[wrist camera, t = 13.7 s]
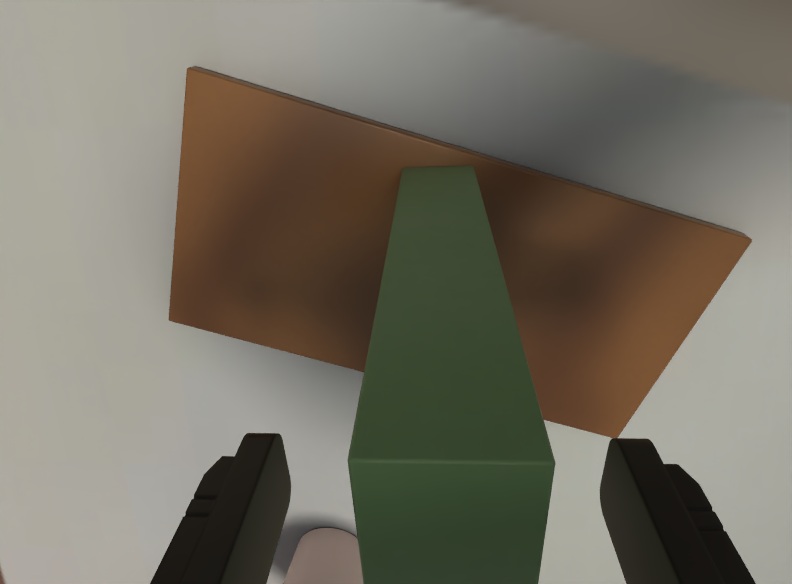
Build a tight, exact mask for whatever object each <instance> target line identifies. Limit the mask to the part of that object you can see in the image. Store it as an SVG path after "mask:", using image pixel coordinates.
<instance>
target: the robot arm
mask: <svg viewBox="0 0 792 584" xmlns="http://www.w3.org/2000/svg"><path fill="white" fill-rule="evenodd" d="M290 495H291V480H290V475H289V470H288V465H287V460H286V455H285V450H284V445H283V440H282V437H281V435H280V434H275V433H247V434H246V435H245V436H244V438H243V440H242V442H241V444H240V446H239V449H238V451H237V453H236V455H235V457H230V456H222V457H221V458H220V459H219V460H218V461H217V462H216V463H215V464H214V465H213V466H212V467H211V468H210V469H209V470H208V471H207V472H206V473H205V474H204V476H203V478H202V480H201V482H200V484H199V486H198V488H197V490H196V492H195V494H194V499H192V500H191V502H190V504H189V506H188V508H187V510H186V515H185V517H183V519H182V521H181V523H180V525H179V527H178V529H177V531H176V533H175V535H174V537H173V539H172V541H171V543H170V545H169V547H168V549H167V551H166V553H165V555H164V557H163V559H162V561H161V563H160V565H159V567H158V569H157V571H156V573H155V575H154V577H153V579H152V581H151V583H150V584H266V583H267V579H268V576H269V572H270V569H271V565H272V562H273V559H274V555H275V552H276V548H277V545H278V541H279V538H280V535H281V531H282V528H283V524H284V521H285V517H286V514H287V510H288V507H289V502H290ZM600 502H601V508H602V513H603V516H604V519H605V522H606V525H607V528H608V531H609V534H610V537H611V540H612V543H613V545H614V548H615V551H616V554H617V557H618V560H619V563H620V566H621V569H622V572H623V575H624V578H625V581H626V583H627V584H756V583H755V582H754V580H753V578H752V576H751V575H750V573H749V571H748V569H747V568H746V566H745V564H744V562H743V561H742V559H741V557H740V555H739V554H738V552H737V550H736V548H735V547H734V545H733V543H732V541H731V539H730V538H729V536H728V534H727V532H726V531H724V530H723V525H722V524H721V522H720V520H719V518H718V517H717V515H716V513H715V512H713V511H712V506H711V504H710V503H709V501H708V499H707V497H706V496H705V494H704V492H703V490H702V489H701V487H700V485H699V484H698V483H697V482H696V481H695V480H694V479H693V478H692V477H691V476H690V475H689V474H688V473H686V472H685V471H684V470H683V469H682V468H681V467H680V466H679V465H678V464H663V462H662V460H661V458H660V456H659V454H658V452H657V450H656V448H655V446H654V445H653V443H652V442H651V441H650V440H649V439H622V438H613V439H611V441H610V443H609V447H608V451H607V456H606V461H605V466H604V470H603V475H602V480H601V485H600Z"/></svg>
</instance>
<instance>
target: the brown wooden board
mask: <svg viewBox="0 0 792 584" xmlns="http://www.w3.org/2000/svg"><path fill="white" fill-rule="evenodd" d="M441 166H473V167H474V170H475V174H476V177H477V181H478V185H479V188H480V192H481V196H482V199H483V203H484V206H485V210H486V214H487V217H488V221H489V225H490V228H491V232H492V235H493V239H494V243H495V246H496V250H497V253H498V257H499V261H500V264H501V268H502V272H503V275H504V279H505V282H506V286H507V290H508V293H509V297H510V301H511V304H512V308H513V311H514V315H515V319H516V322H517V326H518V330H519V333H520V337H521V340H522V344H523V348H524V351H525V355H526V359H527V362H528V366H529V369H530V373H531V377H532V380H533V384H534V388H535V391H536V395H537V398H538V402H539V406H540V409H541V413H542V417H543V420H547V421H551V422H555V423H559V424H562V425H566V426H570V427H574V428H577V429H581V430H585V431H589V432H593V433H596V434H600V435H604V436H608V437H612V438H618V436H619V435H620V433H621V432H622V430H623V429H624V427H625V426H626V424H627V423H628V422H629V420H630V419H631V417H632V416H633V414H634V413H635V411H636V410H637V408H638V407H639V405H640V404H641V402H642V401H643V400H644V398H645V397H646V395H647V394H648V392H649V391H650V389H651V388H652V386H653V385H654V383H655V382H656V381H657V379H658V378H659V376H660V375H661V373H662V372H663V370H664V369H665V367H666V366H667V364H668V363H669V362H670V360H671V359H672V357H673V356H674V354H675V353H676V351H677V350H678V348H679V347H680V345H681V344H682V342H683V341H684V340H685V338H686V337H687V335H688V334H689V332H690V331H691V329H692V328H693V326H694V325H695V323H696V322H697V321H698V319H699V318H700V316H701V315H702V313H703V312H704V310H705V309H706V307H707V306H708V304H709V303H710V302H711V300H712V299H713V297H714V296H715V294H716V293H717V291H718V290H719V288H720V287H721V285H722V284H723V283H724V281H725V280H726V278H727V277H728V275H729V274H730V272H731V271H732V269H733V268H734V266H735V265H736V263H737V262H738V261H739V259H740V258H741V256H742V255H743V253H744V252H745V250H746V249H747V247H748V246H749V244H750V243H751V242H752V239H751V238H749V237H748V236H746V235H745V234H743V233H740V232H737V231H733V230H730V229H727V228H724V227H720V226H717V225H714V224H710V223H707V222H704V221H701V220H697V219H694V218H691V217H687V216H684V215H681V214H678V213H674V212H671V211H668V210H664V209H661V208H658V207H655V206H651V205H648V204H645V203H642V202H638V201H635V200H632V199H628V198H625V197H622V196H619V195H615V194H612V193H609V192H605V191H602V190H599V189H596V188H592V187H589V186H586V185H582V184H579V183H576V182H573V181H569V180H566V179H563V178H560V177H556V176H553V175H550V174H546V173H543V172H540V171H537V170H533V169H530V168H527V167H523V166H520V165H517V164H514V163H510V162H507V161H504V160H500V159H497V158H494V157H491V156H487V155H484V154H481V153H478V152H474V151H471V150H468V149H464V148H461V147H458V146H455V145H451V144H448V143H445V142H441V141H438V140H435V139H432V138H428V137H425V136H422V135H418V134H415V133H412V132H409V131H405V130H402V129H399V128H396V127H392V126H389V125H386V124H382V123H379V122H376V121H373V120H369V119H366V118H363V117H359V116H356V115H353V114H350V113H346V112H343V111H340V110H336V109H333V108H330V107H327V106H323V105H320V104H317V103H314V102H310V101H307V100H304V99H300V98H297V97H294V96H291V95H287V94H284V93H281V92H277V91H274V90H271V89H268V88H264V87H261V86H258V85H254V84H251V83H248V82H245V81H241V80H238V79H235V78H232V77H228V76H225V75H222V74H218V73H215V72H212V71H209V70H205V69H202V68H199V67H190V68H188V69H187V76H186V90H185V104H184V117H183V131H182V145H181V158H180V172H179V186H178V199H177V213H176V227H175V240H174V254H173V268H172V281H171V295H170V309H169V321H173V322H176V323H180V324H184V325H188V326H191V327H195V328H199V329H203V330H207V331H210V332H214V333H218V334H222V335H225V336H229V337H233V338H237V339H241V340H244V341H248V342H252V343H256V344H260V345H263V346H267V347H271V348H275V349H278V350H282V351H286V352H290V353H294V354H297V355H301V356H305V357H309V358H313V359H316V360H320V361H324V362H328V363H331V364H335V365H339V366H343V367H347V368H350V369H354V370H358V371H362V372H364V371H365V365H366V360H367V355H368V350H369V344H370V339H371V334H372V328H373V323H374V318H375V312H376V307H377V302H378V296H379V291H380V286H381V281H382V275H383V270H384V265H385V259H386V254H387V249H388V243H389V238H390V233H391V228H392V222H393V217H394V212H395V206H396V201H397V196H398V190H399V185H400V180H401V175H402V169H403V168H407V167H441Z"/></svg>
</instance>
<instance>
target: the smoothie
mask: <svg viewBox="0 0 792 584" xmlns="http://www.w3.org/2000/svg"><path fill="white" fill-rule="evenodd" d="M283 584H363V576H362V569H361V561H360V553H359V545H358V539H357V538H356V537H355V536H353V535H352V534H350V533H348V532H346V531H343V530H339V529H334V528H319V529H315V530H312V531H309V532H307V533H306V534H305V535H303V536H302V538H301V539H300V541H299V544H298V546H297V549H296V551H295V554H294V557H293V559H292V562H291V564H290V567H289V569H288V572H287V575H286V577H285V580H284V582H283Z"/></svg>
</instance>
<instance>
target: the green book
mask: <svg viewBox="0 0 792 584" xmlns="http://www.w3.org/2000/svg"><path fill="white" fill-rule="evenodd" d="M348 466H349V474H350V482H351V490H352V498H353V506H354V513H355V521H356V529H357V537H358V545H359V553H360V561H361V569H362V576H363V584H538V580H539V573H540V566H541V559H542V552H543V545H544V538H545V531H546V524H547V517H548V510H549V503H550V496H551V489H552V482H553V475H554V468H555V460H554V456H553V453H552V449H551V446H550V442H549V438H548V435H547V431H546V427H545V424H544V420H543V417H542V413H541V409H540V406H539V402H538V398H537V395H536V391H535V388H534V384H533V380H532V377H531V373H530V369H529V366H528V362H527V359H526V355H525V351H524V348H523V344H522V340H521V337H520V333H519V330H518V326H517V322H516V319H515V315H514V311H513V308H512V304H511V301H510V297H509V293H508V290H507V286H506V282H505V279H504V275H503V272H502V268H501V264H500V261H499V257H498V253H497V250H496V246H495V243H494V239H493V235H492V232H491V228H490V225H489V221H488V217H487V214H486V210H485V206H484V203H483V199H482V196H481V192H480V188H479V185H478V181H477V177H476V174H475V170H474V167H473V166H441V167H407V168H403V169H402V175H401V180H400V185H399V190H398V196H397V201H396V206H395V212H394V217H393V222H392V228H391V233H390V238H389V243H388V249H387V254H386V259H385V265H384V270H383V275H382V281H381V286H380V291H379V296H378V302H377V307H376V312H375V318H374V323H373V328H372V334H371V339H370V344H369V350H368V355H367V360H366V365H365V371H364V376H363V381H362V387H361V392H360V397H359V403H358V408H357V413H356V418H355V424H354V429H353V434H352V440H351V445H350V450H349V456H348Z"/></svg>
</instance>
